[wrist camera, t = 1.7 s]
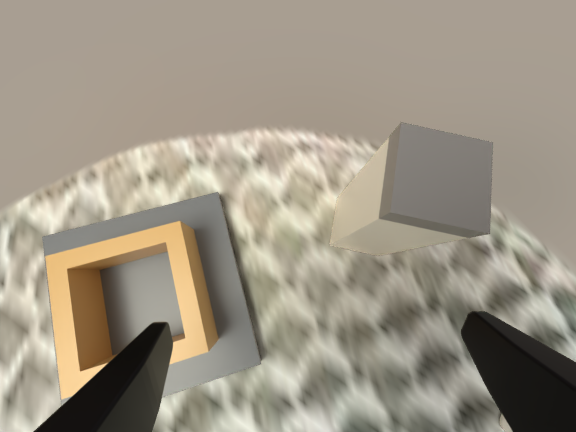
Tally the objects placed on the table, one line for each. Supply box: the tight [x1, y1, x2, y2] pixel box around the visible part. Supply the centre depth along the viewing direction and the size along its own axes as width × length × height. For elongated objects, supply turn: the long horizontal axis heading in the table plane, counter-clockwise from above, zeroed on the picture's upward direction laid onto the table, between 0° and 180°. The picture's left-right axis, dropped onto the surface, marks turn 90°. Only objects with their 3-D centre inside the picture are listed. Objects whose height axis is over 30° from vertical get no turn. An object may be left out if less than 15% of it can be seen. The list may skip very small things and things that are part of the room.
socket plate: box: [42, 192, 261, 406], centre depth 20 cm, size 14×14×4 cm
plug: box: [329, 122, 493, 256], centre depth 18 cm, size 4×4×12 cm
